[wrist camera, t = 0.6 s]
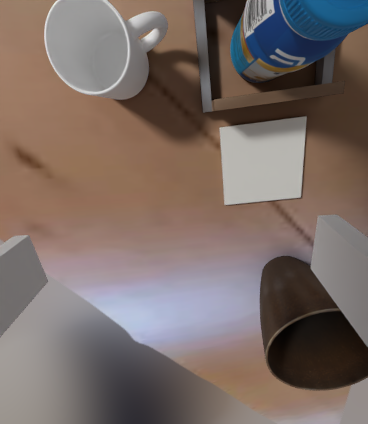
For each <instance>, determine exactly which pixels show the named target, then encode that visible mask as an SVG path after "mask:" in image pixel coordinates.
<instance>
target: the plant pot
mask: <svg viewBox="0 0 368 424" xmlns="http://www.w3.org/2000/svg"><path fill="white" fill-rule="evenodd" d="M310 268H311V266H309V265H307V264H306V263H304V262H302V261H300V260H298V259H296V258H293V257H290V256H281V257H277V258H274V259H272V260H271V261H269V262H268V263H267V264H266V265H265V267H264V269H263V272H262V277H261V286H260V320H261V330H262V338H263V345H264V352H265V359H266V364H267V366H268V368H269V370H270V372H271V373H272V374H273V375H274V376H275V377H276V378H277V379H278V380H280V381H281V382H283V383H285V384H287V385H289V386H292V387H295V388H299V389H305V390H316V391H320V390H333V389H338V388H342V387H346V386H349V385H353V384H355V383H358V382H360V381H362V380H364V379H366V378H368V347H367V346H366V344H365V343H364V342H363V340H362V339H361V337H360V336H359V335H358V333H357V332H356V331H355V329H354V328H353V326H352V325H351V324H350V322H349V321H348V320H347V318H346V317H345V315H344V314H343V313H342V311H341V310H340V309H339V307H338V306H337V304H336V303H335V302H334V300H333V299H332V298H331V296H330V295H329V293H328V292H327V291H326V289H325V288H324V286H323V285H322V284H321V282H320V281H319V280H318V278H317V277H316V275H315V274H314V273H313V271H312V270H311V269H310Z"/></svg>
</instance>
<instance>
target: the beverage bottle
mask: <svg viewBox="0 0 368 424" xmlns="http://www.w3.org/2000/svg"><path fill="white" fill-rule="evenodd" d="M366 24H368V0H247V2H246V5H245V9H244V12H243V14H242V16H241V18H240V20H239V22H238V24H237V26H236V28H235V30H234V33H233V36H232V39H231V46H230V53H231V60H232V63H233V66H234V68H235V69H236V71H237V72H238V74H239V75H240V76H241V77H243V78H244V79H246V80H247V81H250V82H254V83H264V82H268V81H270V80H273V79H275V78H277V77H279V76H281V75H284V74H286V73H289V72H294V71H297V70H300V69H302V68H304V67H306V66H308V65H310V64H311V63H313V62H315V61H317V60H319V59H321V58H323V57H324V56H326V55H327V54H329V53H330V52H331V51H333V50H334V49H335V48H336V47H337V46H338V45H339V44H340V43H341V42H342V41H343V40H344V39H345V37H346V36H347V35H348V34H349V33H350V32H353V31H354V30H356V29H358V28H360V27H362V26H364V25H366Z"/></svg>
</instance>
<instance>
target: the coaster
mask: <svg viewBox="0 0 368 424" xmlns="http://www.w3.org/2000/svg"><path fill="white" fill-rule="evenodd" d="M306 119H307V116H303V117H296V118H288V119H280V120H273V121H265V122H257V123H250V124H242V125H235V126H227V127H219V128H220V144H221V160H222V175H223V191H224V204H225V205H230V204H240V203H250V202H260V201H270V200H280V199H290V198H300V197H301V188H302V174H303V160H304V146H305V133H306Z"/></svg>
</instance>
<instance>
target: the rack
mask: <svg viewBox="0 0 368 424" xmlns="http://www.w3.org/2000/svg"><path fill="white" fill-rule="evenodd" d="M215 1H221V0H193V5H194V17H195V28H196V39H197V51H198V62H199V74H200V85H201V96H202V108H203V113H204V112H211V111H219V110H226V109H233V108H240V107H248V106H255V105H262V104H270V103H277V102H284V101H291V100H299V99H306V98H313V97H320V96H328V95H335V94H342V93H344V85H345V81H341V82H334V83H332V77H333V68H334V58H335V49H336V48H335V49H334V50H333V51H331V52H330V53H329V54H327V55H326V56H324V57H323V58H321V59H319V60H317V62H316V74H315V85H313V86H306V87H299V88H292V89H285V90H278V91H270V92H263V93H256V94H249V95H242V96H235V97H228V98H221V99H214V100H213V101H212V102H211V88H210V74H209V61H208V47H207V33H206V20H205V6H204V3H210V2H215Z"/></svg>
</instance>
